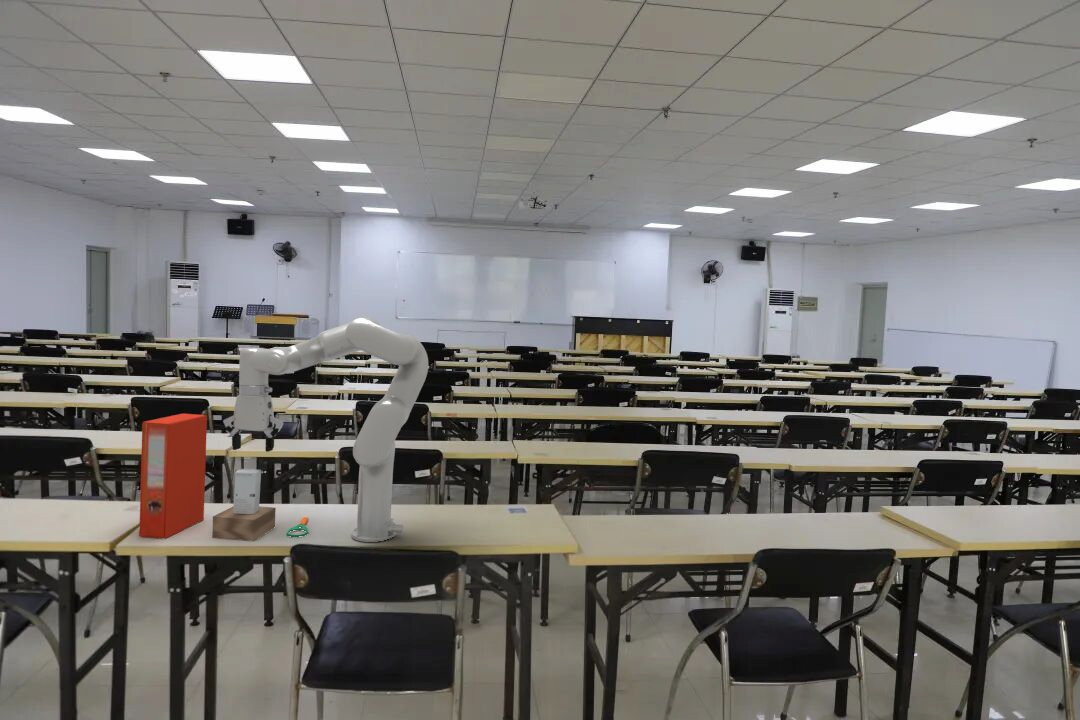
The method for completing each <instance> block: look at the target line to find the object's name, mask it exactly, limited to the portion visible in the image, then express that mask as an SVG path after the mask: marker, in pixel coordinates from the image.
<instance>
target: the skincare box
mask: <svg viewBox="0 0 1080 720" xmlns="http://www.w3.org/2000/svg"><path fill="white" fill-rule="evenodd" d="M261 479H262V469H253V468H239V469H238V470H236V471H235V473H234V492H233V505H232V507H233V514H255V513H256V512H257V511H258V510H259V506H260V499H261V498H260V495H261V494H260V493H261Z"/></svg>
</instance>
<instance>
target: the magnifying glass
mask: <svg viewBox="0 0 1080 720" xmlns="http://www.w3.org/2000/svg"><path fill="white" fill-rule="evenodd" d="M308 521H309V517H308V516H303V517H301V520H300V521H299V522H298V524H297V525H295V526H293V527H290V528H288V529H287V530H286V533H285V534H286V535H285V536H287V537H288V536H291V537H290V538H293V537H297V538H300V537H299V536H303V537H306V536H308V535H309V534H310V533H309V532H310V531H309V529H308V527H307V524H308ZM299 527H301V528H299ZM293 530H304V531H306V532H304V531H303V533H299V534H298V533H296V534H293V533H289V532H290V531H293ZM307 534H308V535H307ZM305 535H306V536H305Z"/></svg>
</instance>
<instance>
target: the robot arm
mask: <svg viewBox="0 0 1080 720" xmlns="http://www.w3.org/2000/svg"><path fill="white" fill-rule="evenodd" d="M360 351H362V352H363V353H366V354H369V355H371V356H373V357H375V358H378V359H380V360H383V361H385V362H387V363H388V364H392V365H396V366H398V368H397V370H396V372H395V373H396V374H395V375H394V376H393V378H392V381H391V382H390V385H389V387H388V388H387V391H386V392H385V395H384V396H383V397H382V398H381V399H379V401H377V402H376V403H375V404H374V405H373V406H372V408H371V410H370V411H369V413H368V415H367V417H366V419H365V420H364V423H363V425H362V427H361V429H360V431H359V433H358V435H357V437H356V439H355V441H354V444H353V447H352V456H353V458H354V460H355V462H356V463H357V464H358V465H359V471H358V491H357V492H358V494H357V514H356V515H357V516H356V517H357V519H356V528H353V529H352V530H351V533H350V537H351V538H352V539H353V540H355V541H358V542H364V543H379V542H378V541H381V542H385V541H384V540H386V541H388V540H387V539H389V540H391V539H393V538H394V537H396V535H397V534H398V533H400V534H404V533H405V525H404V524H401V523H395V519H394V518H392V497H393V495H392V494H393V493H392V491H393V477H394V475H393V474H394V462H395V456H396V455H395V453H396V442H395V441H396V439H397V437H398V434H399V432H400V431H401V428H402V427H403V426H404V425H405V424H406V423H407V421H408V419H409V417H410V413H411V412H412V410H413V407H414V405H415V403H416V401H417V399H418V397H419V394H420V393H421V390H422V388H423V386H424V383H425V381H426V378H427V375H428V371H429V357H428V353H427V351H426V349H425V347H424V345H423V344H422V343H421V341H419V339H417V338H416V337H415V336H413V335H412V334H408V333H404V334H403V333H402V334H400V333H398V332H396V331H393V330H391V329H388V328H387V327H385V326H382V325H381V324H380V323H379V322H378V321H377V320H376V319H374V318H372V317H357V318H354V319H353V320H351V321H350V322H347V323H345V324H341V325H339V326H336V327H333V328H329V329H327V330H323V331H322V332H320V333H318V334H317V335H316V336H315V337H312V338H310V339H308V340H306V341H303V342H299V343H297V344H294V345H293V344H292V345H291V346H286V347H284V346H283V347H278V348H271V349H269V348H268V349H266V348H264V347H244V348H242V349H240V351H239V374H238V375H239V381H238V382H239V383H238V384H239V386H238V387H239V388H238V390H239V393H238V395H236V399H235V404H234V410H233V415H231V416H229V417H226V418H225V419H223V421H222V422H223V424H224V426H225V429H226V431H227V432H228V433H229V435H230V436H231V446H232V450H233V451H237V450H239V449H241V448H242V435H241V434H240V433H241V432H242V431H253V432H263V433H264V434H265V435H266V437H265V452H266V453H267V452H268V453H269V452H271V451H273V450H274V449H275V448H274V447H275V437H276V436H277V434H279V433H280V432H281V429H282V428H283V425H284V422H283V421H282V420H280V419H278V418H277V417H275V415H274V414H275V413H274V405H273V399H272V395H269V393H272V392H273V387H270V386H269V375H273V376H274V375H275V376H282V375H285V374H289V373H294V372H297V371H300V370H302V369H303V370H304V369H306V368H309V367H312V366H314V365H318V364H321V363H323V362H331V361H333V360H336V359H339V358H341V357H345V356H348V355H351V354H353V353H357V352H360ZM232 422H233V425H232ZM274 427H275V428H274ZM396 533H397V534H396ZM392 537H393V538H392ZM390 538H391V539H390Z"/></svg>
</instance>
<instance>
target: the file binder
mask: <svg viewBox="0 0 1080 720" xmlns="http://www.w3.org/2000/svg"><path fill="white" fill-rule="evenodd" d="M141 426H142V427H141V454H140V456H141V457H140V459H141V461H140V489H139V490H140V492H139V493H140V495H139V496H140V497H139V529H138V530H139V531H138V533H139V534H138V536H139V537H140V538H148V537H154V538H153V539H159V538H165V539H164V540H166V538H167V539H168V537H169V538H170V536H171V537H172V535H173V536H175V535H177V534H178V533H180V532H182V531H184V529H185V530H186V528H187V529H188V527H189V528H190V526H191V525H193V524H195V523H197V522H199V521H201V520H203V521H204V519H205V518H204V517H205V490H206V489H205V487H206V485H205V484H206V461H207V460H206V458H207V457H206V456H207V434H208V432H207V430H208V415H206V414H197V413H195V414H192V413H179V414H175V415H170V416H165V417H159V418H156V419H150V420H146V421H143V422H142V425H141ZM201 522H202V521H201ZM199 523H200V522H199ZM197 524H198V523H197ZM195 525H196V524H195ZM193 526H194V525H193ZM191 527H192V526H191Z"/></svg>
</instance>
